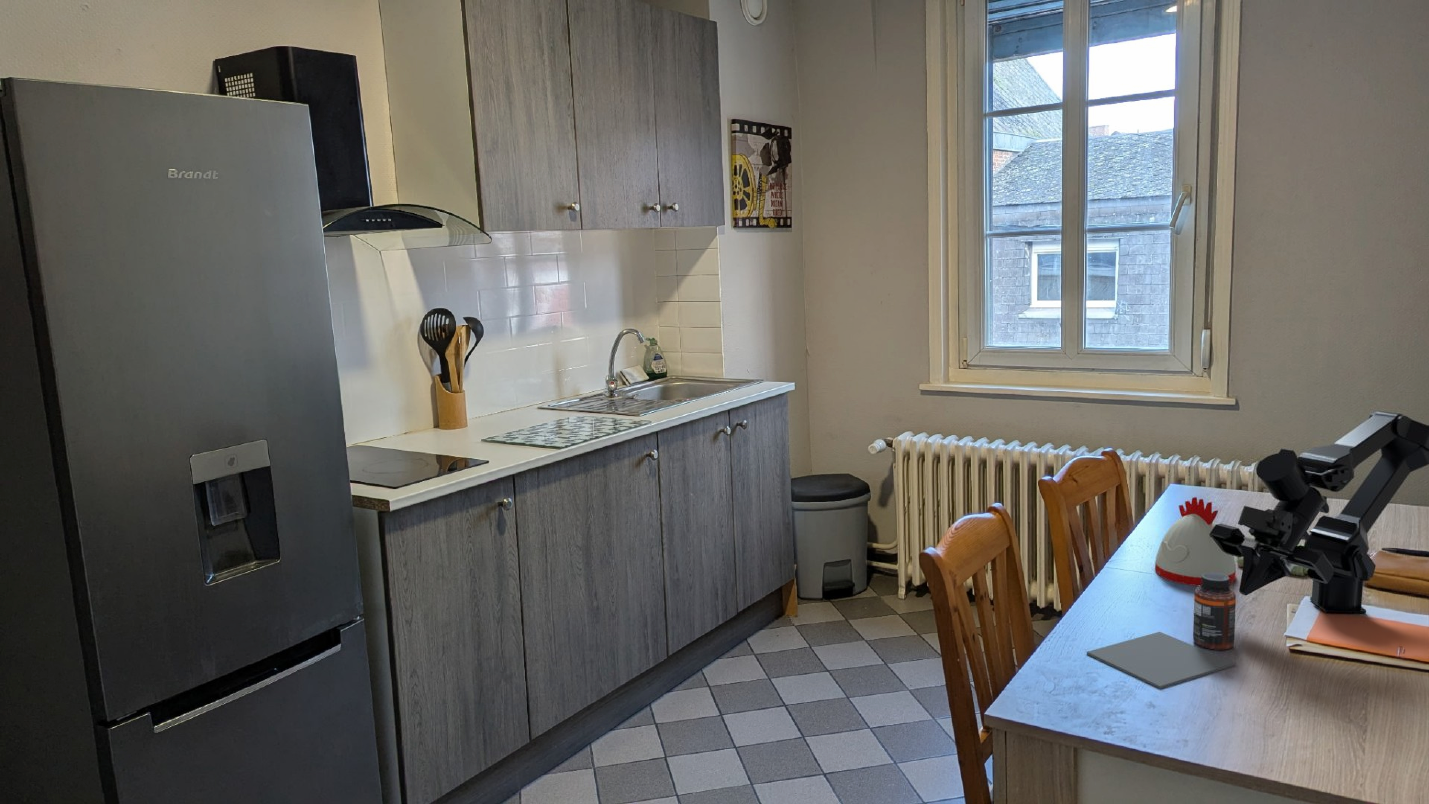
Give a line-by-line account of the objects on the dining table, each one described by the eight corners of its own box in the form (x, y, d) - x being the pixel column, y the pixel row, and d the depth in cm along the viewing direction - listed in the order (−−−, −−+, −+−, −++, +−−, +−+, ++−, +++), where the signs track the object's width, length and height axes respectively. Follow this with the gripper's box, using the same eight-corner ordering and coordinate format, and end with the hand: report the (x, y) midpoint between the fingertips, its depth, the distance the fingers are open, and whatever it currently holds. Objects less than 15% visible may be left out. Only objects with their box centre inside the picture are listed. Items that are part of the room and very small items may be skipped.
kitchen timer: (1198, 591, 183) (1201, 511, 180) (1139, 569, 195) (1141, 495, 193) (1251, 578, 188) (1256, 501, 186) (1191, 558, 201) (1194, 485, 198)
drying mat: (1159, 633, 164) (1159, 631, 164) (1235, 665, 151) (1235, 662, 151) (1086, 654, 157) (1086, 651, 157) (1160, 688, 145) (1160, 686, 145)
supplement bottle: (1230, 638, 161) (1234, 571, 159) (1236, 653, 156) (1240, 584, 154) (1190, 635, 163) (1193, 568, 161) (1194, 649, 158) (1197, 581, 156)
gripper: (1219, 476, 169) (1170, 549, 166) (1327, 501, 152) (1274, 582, 149) (1248, 515, 173) (1201, 586, 171) (1356, 542, 157) (1305, 622, 154)
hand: (1242, 593), depth 161 cm, fingers closed
